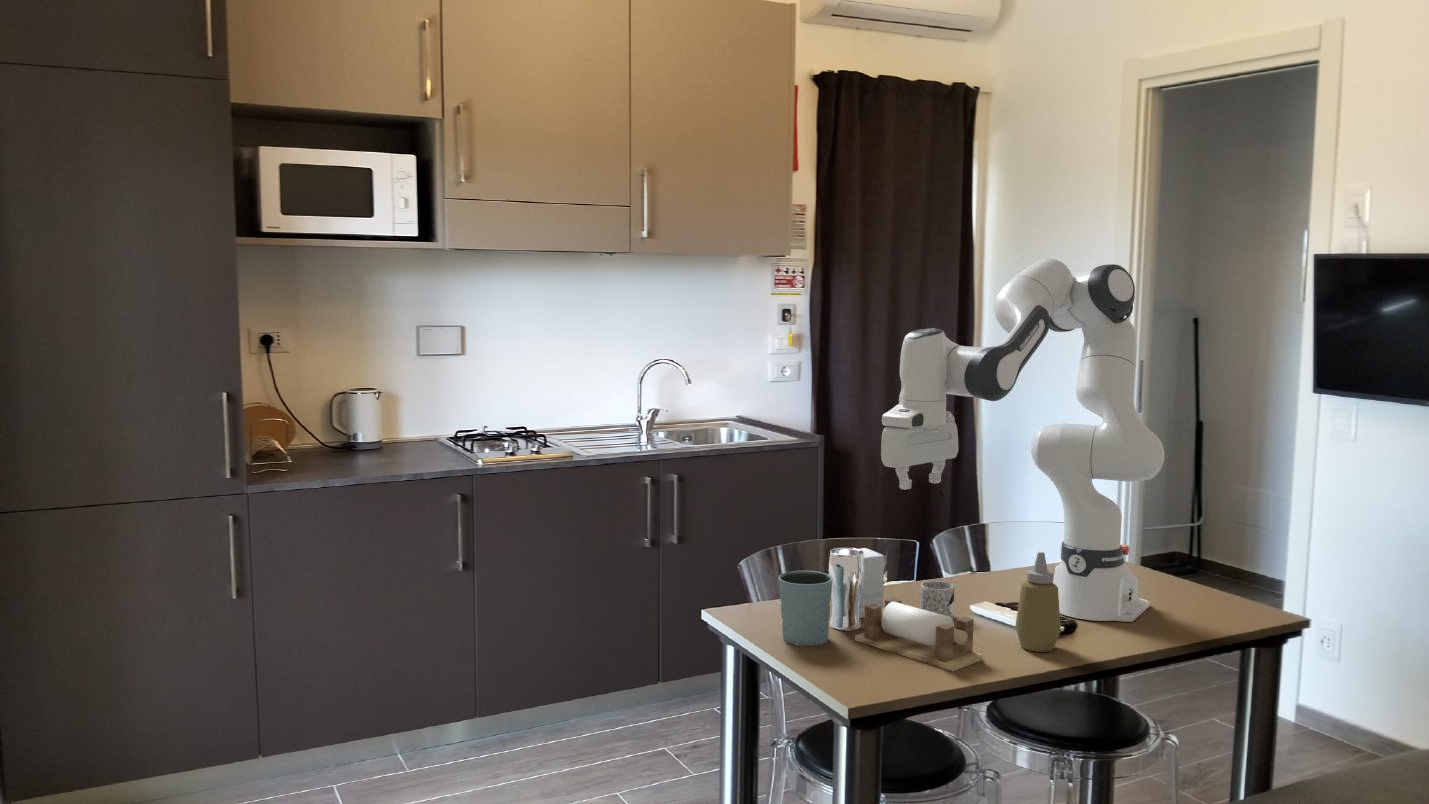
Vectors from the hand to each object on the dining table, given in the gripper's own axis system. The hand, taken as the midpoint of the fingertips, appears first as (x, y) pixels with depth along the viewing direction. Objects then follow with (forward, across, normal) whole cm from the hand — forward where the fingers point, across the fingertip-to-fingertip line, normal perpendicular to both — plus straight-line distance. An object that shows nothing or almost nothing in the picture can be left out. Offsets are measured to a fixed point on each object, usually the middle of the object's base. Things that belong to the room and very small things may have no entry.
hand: (920, 485), depth 202 cm
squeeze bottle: (+29, -9, +21) cm, 37 cm away
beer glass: (+29, +8, -11) cm, 32 cm away
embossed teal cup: (+29, +20, -11) cm, 37 cm away
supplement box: (+29, -1, -15) cm, 33 cm away
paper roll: (+27, +9, +7) cm, 29 cm away
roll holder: (+29, +9, +7) cm, 31 cm away
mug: (+29, -12, -4) cm, 32 cm away
